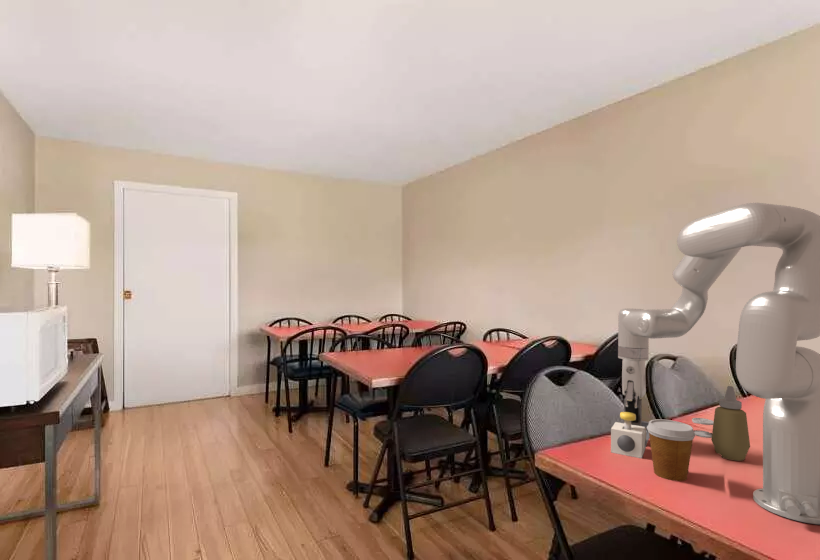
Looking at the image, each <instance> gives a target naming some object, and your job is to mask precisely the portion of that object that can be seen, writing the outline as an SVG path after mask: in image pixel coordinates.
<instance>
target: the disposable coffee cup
mask: <svg viewBox="0 0 820 560" xmlns="http://www.w3.org/2000/svg"><path fill="white" fill-rule="evenodd" d="M648 422H649V424H648V426H647V430H648V432H649V436H650V437H649V442H650V443H649V445H650V450H651V451H650V452H651V459H652V466H653V473H654V474H655V475H656V476H658V477H660V478H661V479H665V480H669V481H673V482H684V481H686V480H687V479H688V475H689V467H690V461H691V454H692V448H693V441H694V439H695V437H696V435H695V433H694V428H693V427H692V425H690V424H688V423H684V422H682V421H681V422H680V421H677V420H671V419H651V420H649V421H648Z"/></svg>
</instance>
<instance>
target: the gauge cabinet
mask: <svg viewBox="0 0 820 560" xmlns="http://www.w3.org/2000/svg"><path fill="white" fill-rule="evenodd" d="M645 450H646V448H645V427H643V426H637V425H631V430H627V429H624V422H617V421H615V422H614V424H613V425H612V426H611V428H610V453H611V452H612V454H616V453H617V454H616V455H621V454H622V456H626V455H627V456H626V457H631V456H632V457H631V458H636V457H637V459H641V458H642V459H643V456H644V454H643V453H645Z"/></svg>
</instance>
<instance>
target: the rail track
mask: <svg viewBox="0 0 820 560" xmlns="http://www.w3.org/2000/svg"><path fill="white" fill-rule="evenodd" d="M648 424H649V421H645V420H642V426H643V427H645V428H646V440H645V449H646V447H647V444H648V443H649V441H650V436H649V432H648V430H647V426H648ZM610 453H612V452H611V451H610ZM644 453H645V452H644ZM644 453H643V455H644ZM612 454H613V453H612ZM615 454H616V455H618V454H617V453H615ZM620 455H622V454H620ZM622 456H623V455H622ZM625 456H626V457H628V456H627V455H625ZM630 457H631V458H633V457H632V456H630ZM635 458H637V457H635ZM637 459H638V458H637ZM641 459H643V457H642V458H640V460H641Z"/></svg>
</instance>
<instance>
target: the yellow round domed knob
mask: <svg viewBox="0 0 820 560" xmlns="http://www.w3.org/2000/svg"><path fill="white" fill-rule="evenodd" d="M619 413H620V414H619V418H620V419H621V420H623V423H624V429H627V430H631V421H634V420H636V414H634V413H630V412H624V411H621V412H619Z"/></svg>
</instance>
